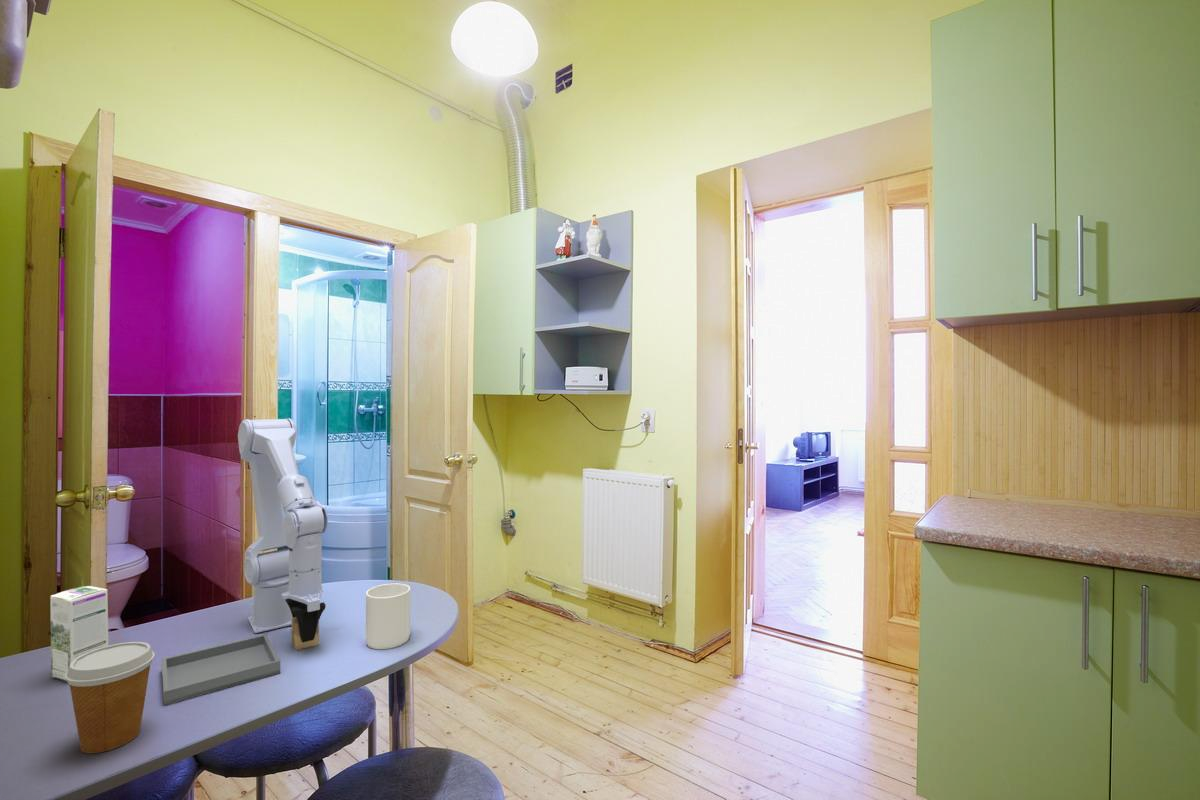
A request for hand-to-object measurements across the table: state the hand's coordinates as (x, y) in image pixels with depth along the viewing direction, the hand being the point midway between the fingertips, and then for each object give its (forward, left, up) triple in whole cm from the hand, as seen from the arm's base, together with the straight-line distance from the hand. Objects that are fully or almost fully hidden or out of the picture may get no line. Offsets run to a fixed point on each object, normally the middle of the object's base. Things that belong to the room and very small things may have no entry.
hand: (305, 636), depth 108 cm
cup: (+7, +13, -2) cm, 15 cm away
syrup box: (-12, -33, -2) cm, 35 cm away
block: (0, 0, -1) cm, 1 cm away
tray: (+3, -14, -1) cm, 14 cm away
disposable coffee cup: (+16, -28, -2) cm, 32 cm away
